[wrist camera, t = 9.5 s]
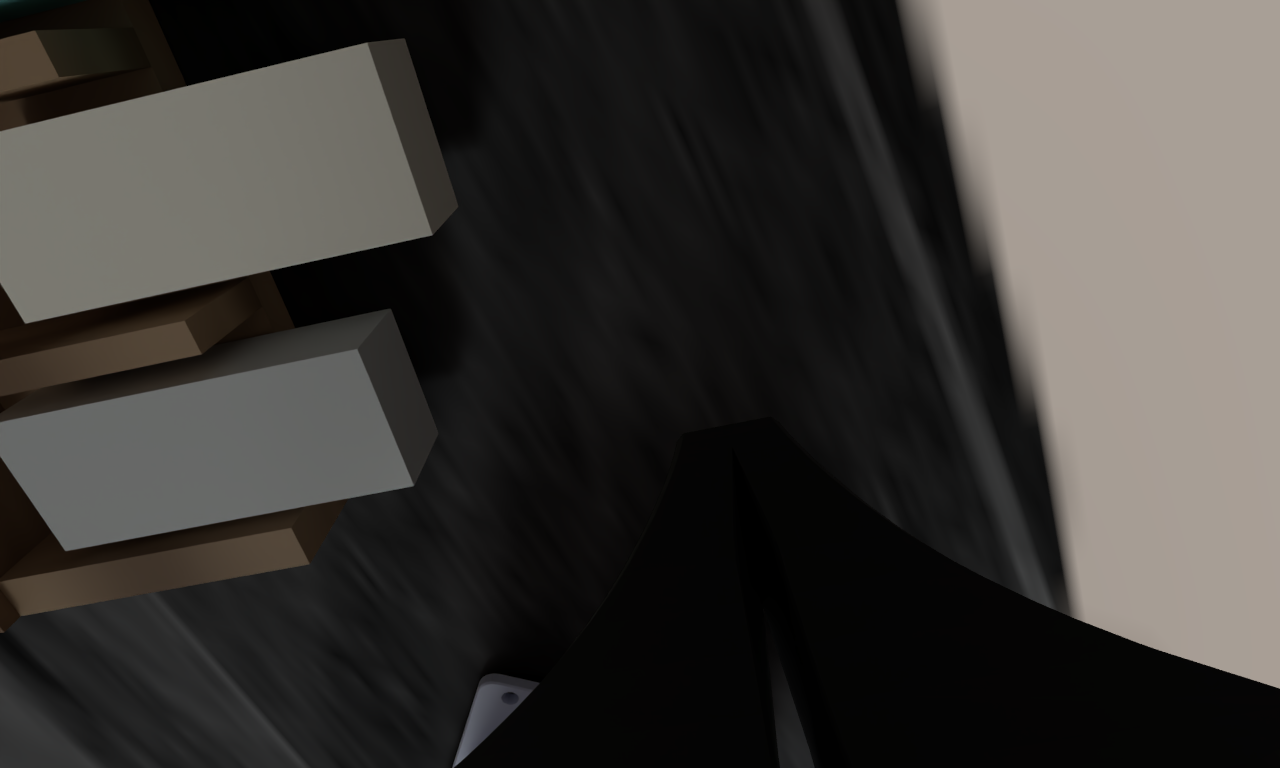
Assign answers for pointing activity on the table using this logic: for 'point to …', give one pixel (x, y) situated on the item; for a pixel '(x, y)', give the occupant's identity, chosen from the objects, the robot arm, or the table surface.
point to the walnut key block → (121, 336)
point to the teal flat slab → (29, 7)
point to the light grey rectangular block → (223, 433)
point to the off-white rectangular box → (219, 181)
